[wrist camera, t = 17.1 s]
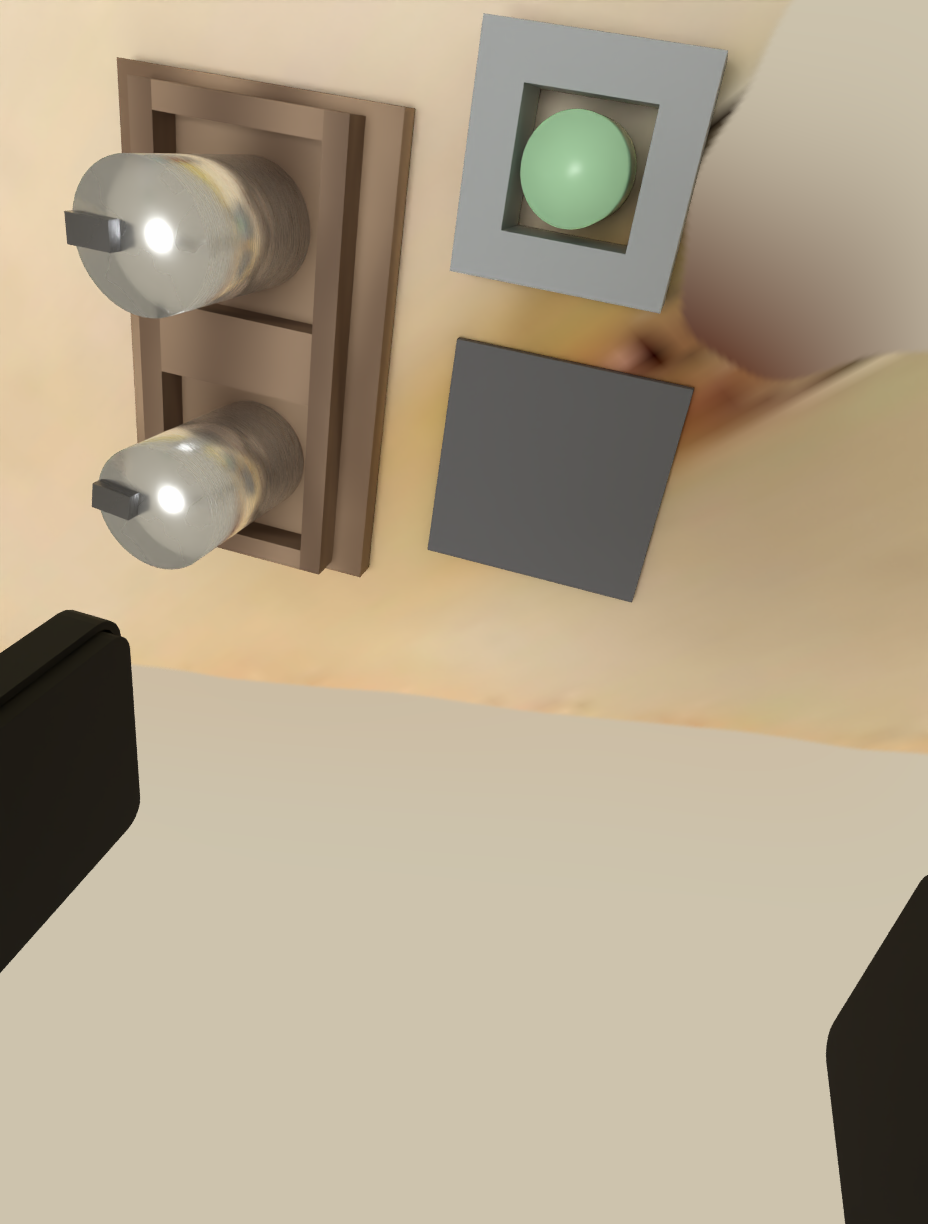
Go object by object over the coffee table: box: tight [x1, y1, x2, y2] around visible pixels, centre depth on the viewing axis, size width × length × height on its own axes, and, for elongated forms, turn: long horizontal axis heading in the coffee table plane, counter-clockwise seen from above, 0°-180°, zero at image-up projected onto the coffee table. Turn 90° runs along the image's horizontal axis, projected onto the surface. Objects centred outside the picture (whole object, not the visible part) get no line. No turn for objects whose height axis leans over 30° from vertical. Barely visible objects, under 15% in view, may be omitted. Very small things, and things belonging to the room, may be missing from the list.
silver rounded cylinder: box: [92, 401, 303, 569], centre depth 36 cm, size 5×5×9 cm
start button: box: [520, 109, 637, 230], centre depth 30 cm, size 4×4×4 cm
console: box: [450, 14, 728, 313], centre depth 30 cm, size 8×8×3 cm
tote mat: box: [428, 337, 694, 602], centre depth 37 cm, size 10×10×1 cm
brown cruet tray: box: [117, 57, 415, 577], centre depth 37 cm, size 12×20×3 cm, turn 171°
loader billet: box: [64, 153, 310, 318], centre depth 31 cm, size 5×5×9 cm
